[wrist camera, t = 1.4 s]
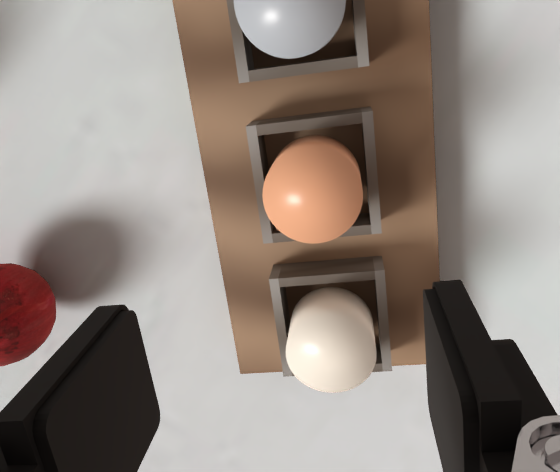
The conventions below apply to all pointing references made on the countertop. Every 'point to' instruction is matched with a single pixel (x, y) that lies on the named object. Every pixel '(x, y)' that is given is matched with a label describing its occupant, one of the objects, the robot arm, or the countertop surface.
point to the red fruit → (23, 312)
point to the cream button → (331, 340)
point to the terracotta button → (313, 190)
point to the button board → (335, 124)
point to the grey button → (289, 24)
